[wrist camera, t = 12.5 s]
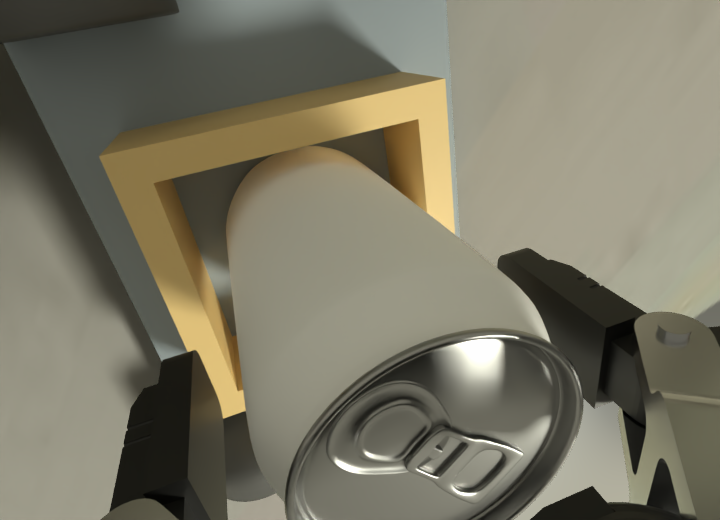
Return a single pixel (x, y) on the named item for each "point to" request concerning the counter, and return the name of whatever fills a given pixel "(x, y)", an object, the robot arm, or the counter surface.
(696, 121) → the counter surface
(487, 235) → the counter surface
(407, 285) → the can
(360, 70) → the chassis
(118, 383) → the counter surface
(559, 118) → the counter surface
